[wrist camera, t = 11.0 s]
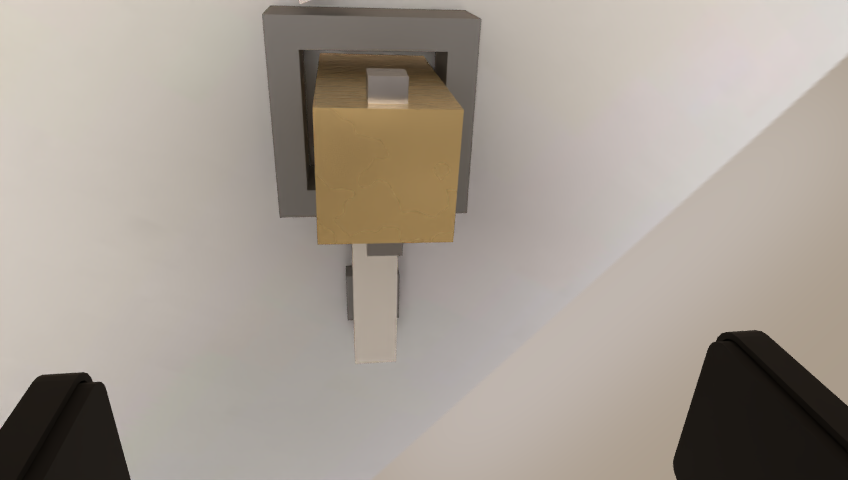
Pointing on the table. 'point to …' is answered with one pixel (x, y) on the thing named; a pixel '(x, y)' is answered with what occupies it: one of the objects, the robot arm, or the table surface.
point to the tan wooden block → (384, 152)
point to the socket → (284, 45)
